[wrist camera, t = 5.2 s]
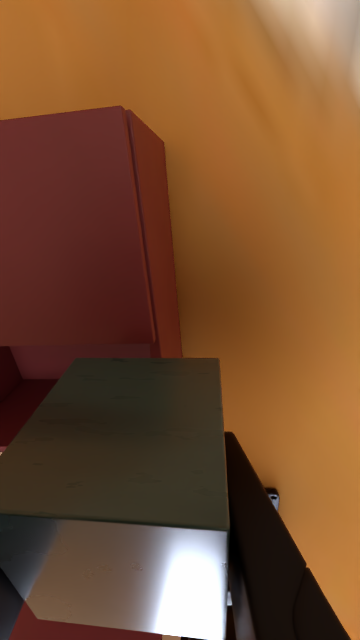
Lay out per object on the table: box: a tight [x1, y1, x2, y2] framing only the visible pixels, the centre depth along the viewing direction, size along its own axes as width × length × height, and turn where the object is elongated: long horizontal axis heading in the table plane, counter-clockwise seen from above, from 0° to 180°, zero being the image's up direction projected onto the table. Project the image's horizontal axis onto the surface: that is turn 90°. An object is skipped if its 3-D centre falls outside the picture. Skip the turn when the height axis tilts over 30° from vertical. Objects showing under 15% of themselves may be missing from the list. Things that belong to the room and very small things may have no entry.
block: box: [0, 358, 230, 640], centre depth 7 cm, size 4×4×4 cm
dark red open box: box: [0, 106, 182, 452], centre depth 14 cm, size 15×13×7 cm
